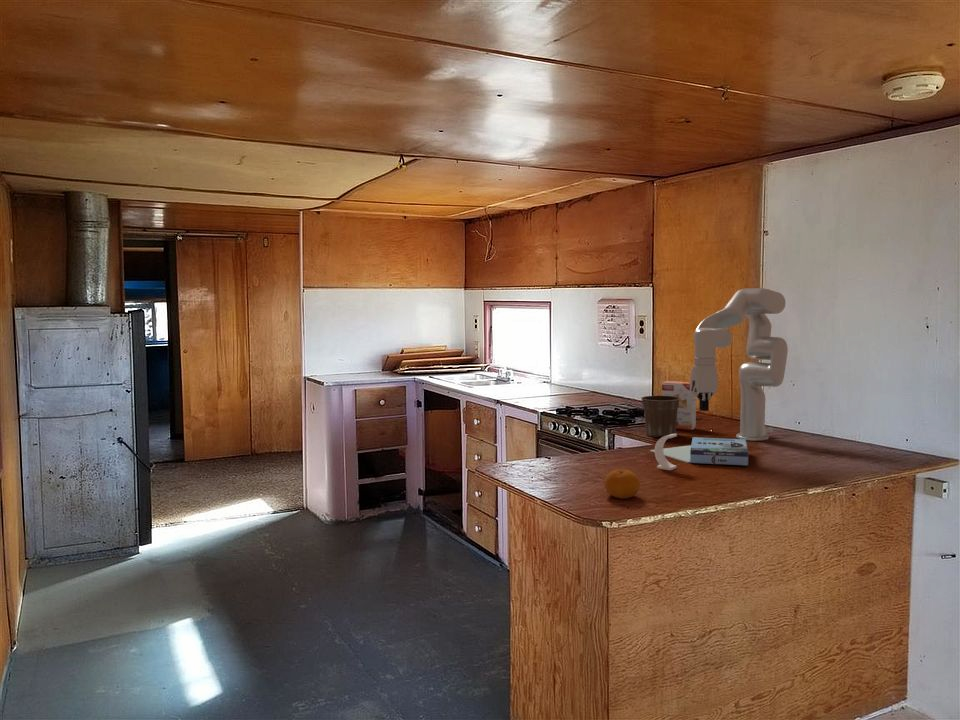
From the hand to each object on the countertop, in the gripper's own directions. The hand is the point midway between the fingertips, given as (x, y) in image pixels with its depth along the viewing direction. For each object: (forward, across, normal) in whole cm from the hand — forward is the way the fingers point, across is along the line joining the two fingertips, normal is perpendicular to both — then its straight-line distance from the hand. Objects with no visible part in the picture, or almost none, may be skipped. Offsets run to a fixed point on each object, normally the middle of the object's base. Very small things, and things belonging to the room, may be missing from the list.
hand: (704, 410), depth 270 cm
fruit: (+16, +62, +36) cm, 74 cm away
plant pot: (+16, -7, -35) cm, 39 cm away
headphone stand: (+16, +28, +13) cm, 35 cm away
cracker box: (+16, -24, -44) cm, 53 cm away
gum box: (+13, -6, +2) cm, 14 cm away
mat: (+16, +6, 0) cm, 17 cm away
